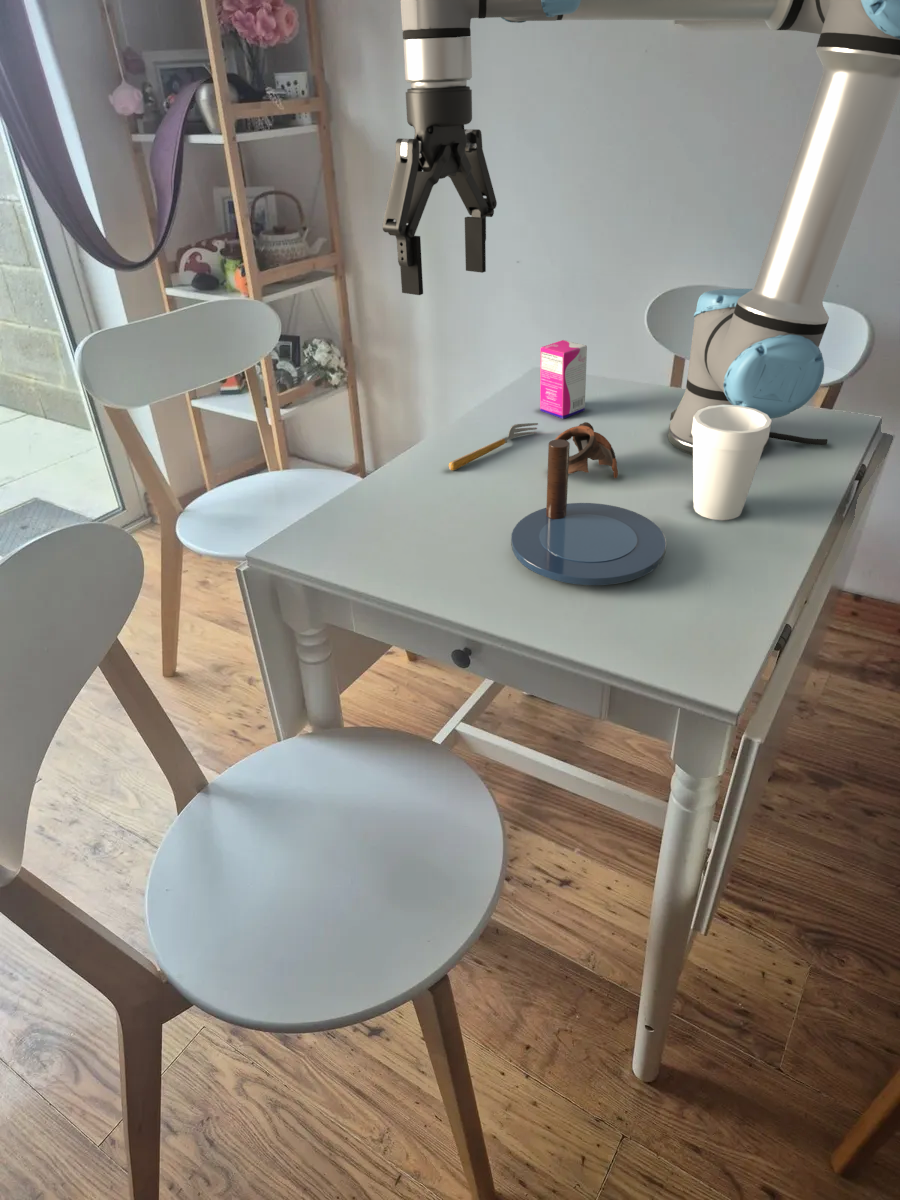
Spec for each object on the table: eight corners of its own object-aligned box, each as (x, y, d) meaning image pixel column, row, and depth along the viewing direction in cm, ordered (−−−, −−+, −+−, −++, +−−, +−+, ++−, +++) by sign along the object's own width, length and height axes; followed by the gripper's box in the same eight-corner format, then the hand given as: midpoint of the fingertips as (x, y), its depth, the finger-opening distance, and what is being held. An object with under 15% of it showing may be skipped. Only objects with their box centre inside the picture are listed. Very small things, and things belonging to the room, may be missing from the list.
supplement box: (561, 402, 147) (563, 338, 140) (585, 411, 143) (589, 345, 136) (538, 410, 144) (539, 345, 137) (562, 419, 140) (565, 353, 133)
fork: (455, 464, 122) (539, 421, 134) (447, 458, 123) (530, 416, 135) (453, 477, 124) (536, 434, 135) (445, 472, 125) (527, 429, 136)
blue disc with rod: (698, 557, 98) (711, 474, 92) (567, 602, 91) (572, 515, 85) (603, 497, 112) (609, 421, 106) (483, 532, 105) (482, 453, 99)
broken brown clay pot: (625, 490, 118) (603, 449, 112) (565, 512, 122) (541, 474, 116) (619, 438, 126) (598, 398, 120) (562, 460, 129) (540, 423, 124)
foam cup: (669, 512, 111) (680, 421, 103) (701, 487, 116) (714, 399, 109) (735, 532, 105) (752, 439, 98) (765, 505, 111) (783, 415, 104)
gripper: (473, 80, 102) (476, 260, 114) (339, 91, 86) (358, 300, 97) (524, 79, 98) (522, 265, 110) (394, 90, 82) (407, 307, 94)
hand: (445, 282), depth 104 cm, fingers open, 13 cm apart
